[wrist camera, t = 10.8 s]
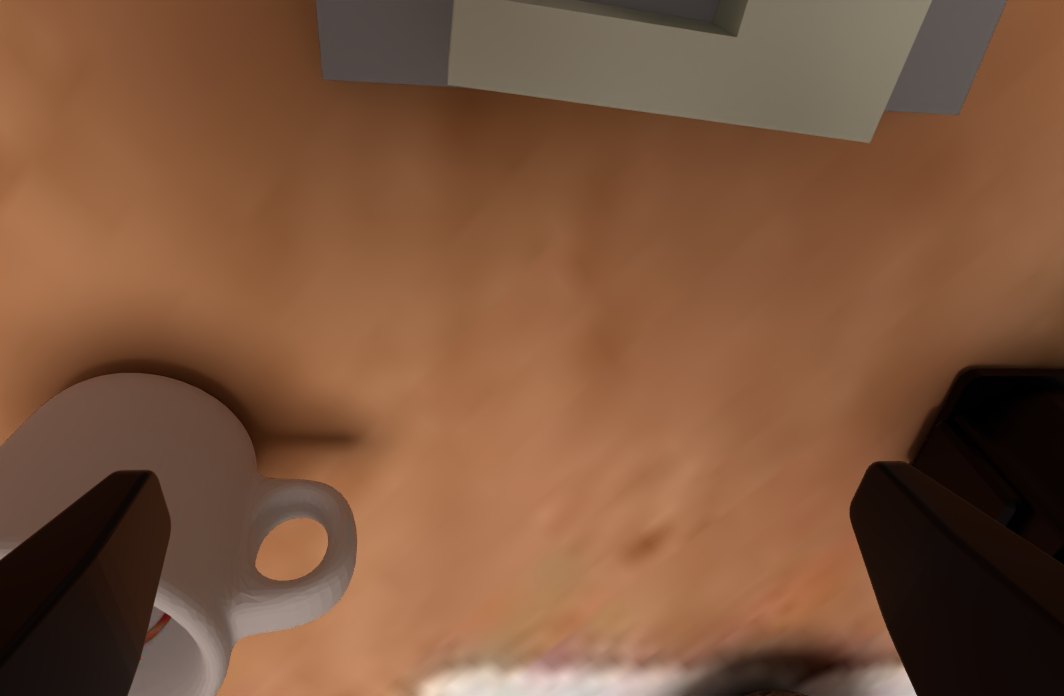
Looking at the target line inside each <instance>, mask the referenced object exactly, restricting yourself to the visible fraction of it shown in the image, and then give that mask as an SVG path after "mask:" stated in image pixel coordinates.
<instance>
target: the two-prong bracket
mask: <svg viewBox="0 0 1064 696" xmlns="http://www.w3.org/2000/svg"><path fill="white" fill-rule="evenodd" d="M931 2H932V0H720V3H719V7H718V10H717V14H716V18H715V21H714V23H713V22H707V21H701V20H695V19H689V18H682V17H676V16H670V15H664V14H658V13H652V12H646V11H640V10H633V9H627V8H621V7H615V6H609V5H603V4H597V3H591V2H584V1H578V0H454V1H453V13H452V24H451V36H450V47H449V58H448V85H453V86H460V87H467V88H474V89H481V90H489V91H496V92H503V93H510V94H518V95H525V96H532V97H539V98H547V99H554V100H561V101H568V102H576V103H583V104H590V105H597V106H605V107H612V108H619V109H626V110H634V111H641V112H648V113H655V114H662V115H670V116H677V117H684V118H691V119H699V120H706V121H713V122H720V123H728V124H735V125H742V126H749V127H757V128H764V129H771V130H778V131H786V132H793V133H800V134H807V135H815V136H822V137H829V138H836V139H843V140H851V141H858V142H865V143H870V142H871V140H872V137H873V135H874V133H875V130H876V128H877V126H878V123H879V121H880V119H881V117H882V114H883V112H884V110H885V107H886V105H887V103H888V101H889V98H890V96H891V94H892V91H893V89H894V87H895V84H896V82H897V80H898V78H899V75H900V73H901V71H902V68H903V66H904V64H905V61H906V59H907V57H908V55H909V52H910V50H911V48H912V45H913V43H914V41H915V39H916V36H917V34H918V32H919V29H920V27H921V25H922V22H923V20H924V18H925V16H926V13H927V11H928V9H929V6H930V4H931Z"/></svg>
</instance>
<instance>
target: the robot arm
mask: <svg viewBox="0 0 1064 696" xmlns="http://www.w3.org/2000/svg"><path fill="white" fill-rule="evenodd" d="M850 520H851V524H852V527H853V530H854V533H855V536H856V539H857V542H858V545H859V548H860V551H861V554H862V557H863V560H864V563H865V566H866V569H867V572H868V575H869V578H870V581H871V584H872V587H873V590H874V593H875V596H876V599H877V602H878V605H879V608H880V610H881V613H882V616H883V619H884V621H885V624H886V627H887V629H888V631H889V634H890V636H891V639H892V641H893V643H894V646H895V648H896V650H897V652H898V654H899V657H900V659H901V661H902V663H903V666H904V668H905V670H906V672H907V674H908V677H909V679H910V681H911V683H912V686H913V688H914V690H915V692H916V694H917V696H1064V370H1053V369H973V370H970V371H968V372H966V373H964V374H963V375H962V376H961V377H960V378H959V379H958V381H957V383H956V384H955V386H954V388H953V390H952V392H951V394H950V396H949V398H948V399H947V401H946V403H945V405H944V407H943V409H942V411H941V412H940V414H939V416H938V418H937V420H936V422H935V424H934V426H933V427H932V429H931V431H930V433H929V435H928V437H927V439H926V441H925V442H924V444H923V446H922V448H921V450H920V452H919V454H918V456H917V457H916V459H915V461H914V463H913V465H912V466H911V465H910V464H908V463H905V462H901V461H878V462H874V463H873V464H871V465H870V466H869V467H868V469H867V470H866V472H865V474H864V477H863V479H862V481H861V483H860V485H859V487H858V489H857V491H856V493H855V495H854V497H853V499H852V502H851V505H850ZM170 534H171V518H170V514H169V510H168V507H167V504H166V501H165V498H164V495H163V491H162V488H161V485H160V482H159V479H158V477H157V475H156V474H155V473H154V472H153V471H151V470H118V471H115V472H113V473H111V474H110V475H108V476H107V477H106V478H104V479H103V480H102V481H100V482H99V483H98V484H97V485H95V486H94V487H93V488H91V489H90V490H89V491H88V492H86V493H85V494H84V495H83V496H81V497H80V498H79V499H77V500H76V501H75V502H74V503H72V504H71V505H70V506H68V507H67V508H66V509H65V510H63V511H62V512H61V513H59V514H58V515H57V516H56V517H54V518H53V519H52V520H50V521H49V522H48V523H47V524H45V525H44V526H43V527H42V528H40V529H39V530H38V531H36V532H35V533H34V534H33V535H31V536H30V537H29V538H27V539H26V540H25V541H24V542H22V543H21V544H20V545H18V546H17V547H16V548H15V549H13V550H12V551H11V552H9V553H8V554H7V555H6V556H4V557H3V558H2V559H1V560H0V696H128V694H129V691H130V688H131V685H132V683H133V680H134V677H135V674H136V671H137V668H138V665H139V662H140V659H141V655H142V651H143V647H144V644H145V640H146V636H147V632H148V627H149V623H150V619H151V615H152V611H153V606H154V602H155V598H156V594H157V590H158V585H159V581H160V577H161V573H162V569H163V564H164V560H165V556H166V552H167V548H168V543H169V539H170Z"/></svg>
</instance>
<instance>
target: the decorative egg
mask: <svg viewBox="0 0 1064 696" xmlns="http://www.w3.org/2000/svg"><path fill="white" fill-rule="evenodd" d="M743 696H807V695H804V694H799V693H795V692H790V691H759V692H754V693H750V694H746V695H743Z"/></svg>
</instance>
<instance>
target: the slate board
mask: <svg viewBox="0 0 1064 696" xmlns="http://www.w3.org/2000/svg"><path fill="white" fill-rule="evenodd" d="M453 1H454V0H316V10H317V21H318V32H319V44H320V55H321V67H322V78H323V80H334V81H352V82H370V83H388V84H406V85H424V86H442V87H460V86H453V85H448V58H449V47H450V36H451V24H452V13H453ZM578 1H584V2H591V3H597V4H603V5H609V6H615V7H621V8H627V9H633V10H640V11H646V12H652V13H658V14H664V15H670V16H676V17H682V18H689V19H695V20H701V21H707V22H713V23H714V21H715V18H716V14H717V10H718V7H719V3H720V0H578ZM1006 2H1007V0H932V2H931V4H930V6H929V9H928V11H927V13H926V16H925V18H924V20H923V22H922V25H921V27H920V29H919V32H918V34H917V36H916V39H915V41H914V43H913V45H912V48H911V50H910V52H909V55H908V57H907V59H906V61H905V64H904V66H903V68H902V71H901V73H900V75H899V78H898V80H897V82H896V84H895V87H894V89H893V91H892V94H891V96H890V98H889V101H888V103H887V105H886V107H885V110H884V111H893V112H911V113H929V114H947V115H959V113H960V111H961V108H962V106H963V104H964V101H965V99H966V97H967V94H968V92H969V89H970V87H971V85H972V82H973V80H974V78H975V75H976V73H977V70H978V68H979V66H980V63H981V61H982V59H983V56H984V54H985V51H986V49H987V47H988V44H989V42H990V40H991V37H992V35H993V32H994V30H995V28H996V25H997V23H998V21H999V18H1000V16H1001V14H1002V11H1003V9H1004V6H1005V4H1006ZM460 88H467V87H460Z"/></svg>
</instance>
